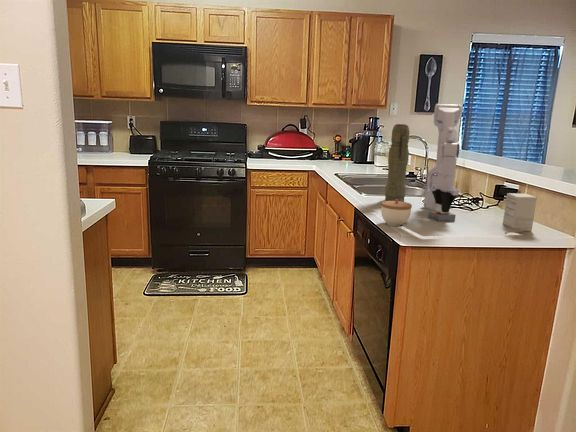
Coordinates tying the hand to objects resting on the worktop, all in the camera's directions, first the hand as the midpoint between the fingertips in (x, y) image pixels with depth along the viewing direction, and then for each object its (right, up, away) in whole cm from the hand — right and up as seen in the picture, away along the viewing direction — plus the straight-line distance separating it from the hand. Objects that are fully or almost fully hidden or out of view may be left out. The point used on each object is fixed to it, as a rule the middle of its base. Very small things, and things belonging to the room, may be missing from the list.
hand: (442, 210), depth 167 cm
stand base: (0, -4, +1) cm, 4 cm away
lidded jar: (-19, -5, -5) cm, 21 cm away
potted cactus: (-9, +5, +38) cm, 39 cm away
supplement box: (+25, -7, -5) cm, 27 cm away
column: (0, -3, +1) cm, 3 cm away
